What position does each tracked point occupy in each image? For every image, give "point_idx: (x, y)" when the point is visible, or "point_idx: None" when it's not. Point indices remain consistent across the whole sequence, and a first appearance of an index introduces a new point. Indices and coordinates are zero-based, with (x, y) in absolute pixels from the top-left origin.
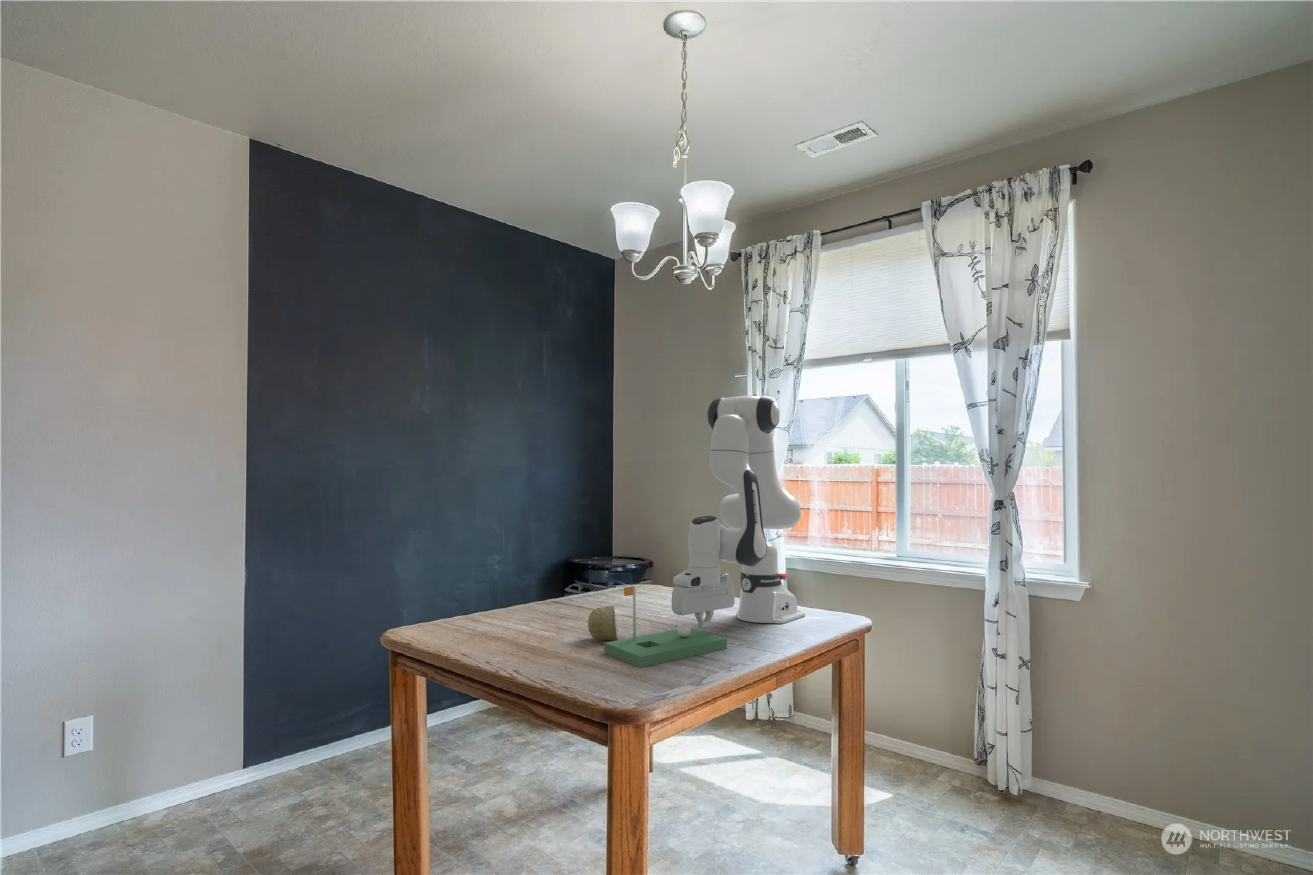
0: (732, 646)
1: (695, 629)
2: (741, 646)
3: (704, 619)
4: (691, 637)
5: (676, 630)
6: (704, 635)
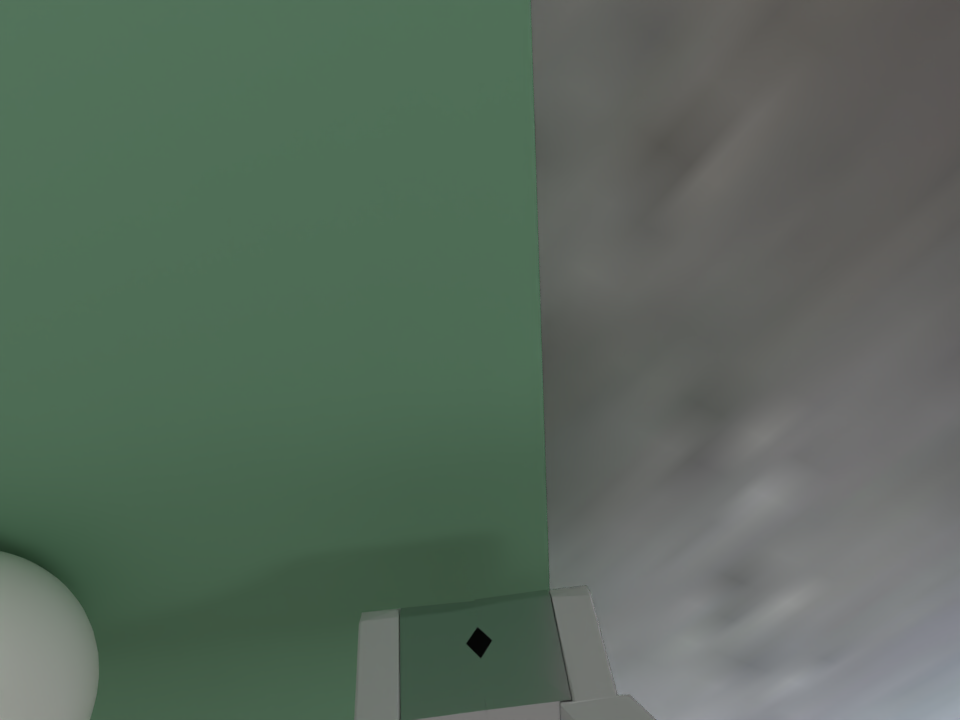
0: (642, 667)
1: (520, 251)
2: (718, 695)
3: (568, 717)
4: (125, 634)
5: (20, 84)
6: None
